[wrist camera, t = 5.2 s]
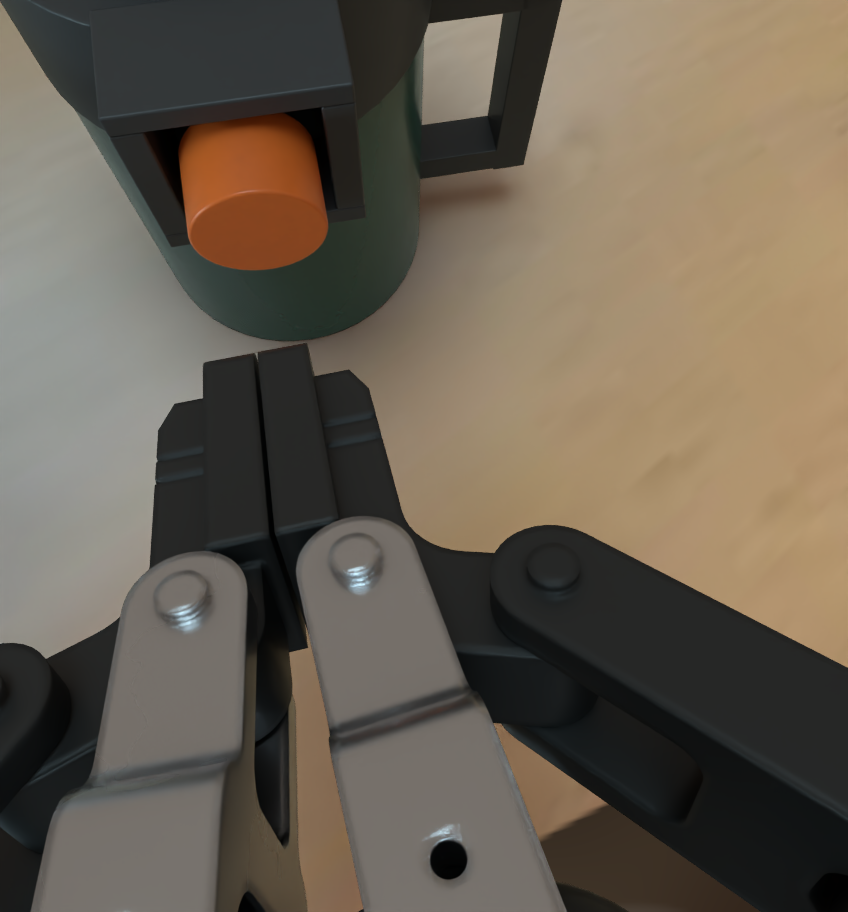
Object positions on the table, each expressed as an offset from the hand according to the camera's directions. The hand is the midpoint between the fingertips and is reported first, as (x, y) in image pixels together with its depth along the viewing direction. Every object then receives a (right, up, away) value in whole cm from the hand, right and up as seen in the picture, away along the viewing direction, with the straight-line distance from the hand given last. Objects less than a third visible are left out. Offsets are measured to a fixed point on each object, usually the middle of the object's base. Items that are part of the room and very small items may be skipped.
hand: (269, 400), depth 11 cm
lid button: (-2, +5, +9) cm, 11 cm away
